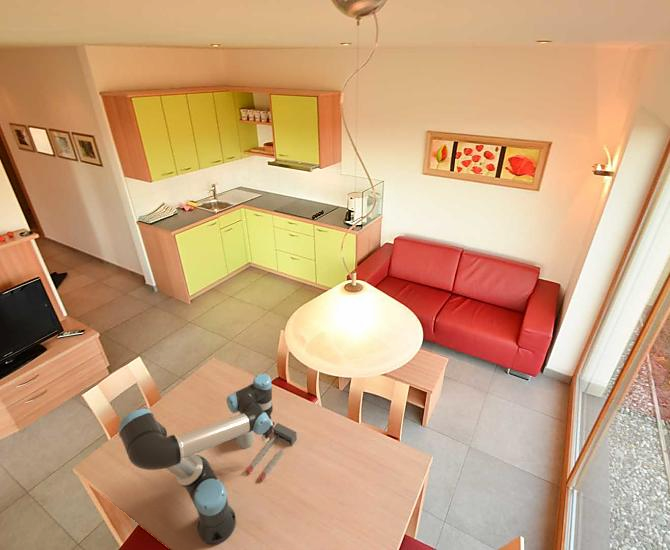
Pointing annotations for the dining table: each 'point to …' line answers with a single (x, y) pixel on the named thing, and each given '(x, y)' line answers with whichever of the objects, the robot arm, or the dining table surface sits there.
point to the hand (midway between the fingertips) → (265, 440)
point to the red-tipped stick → (271, 465)
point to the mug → (245, 440)
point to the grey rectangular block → (285, 432)
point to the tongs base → (266, 449)
